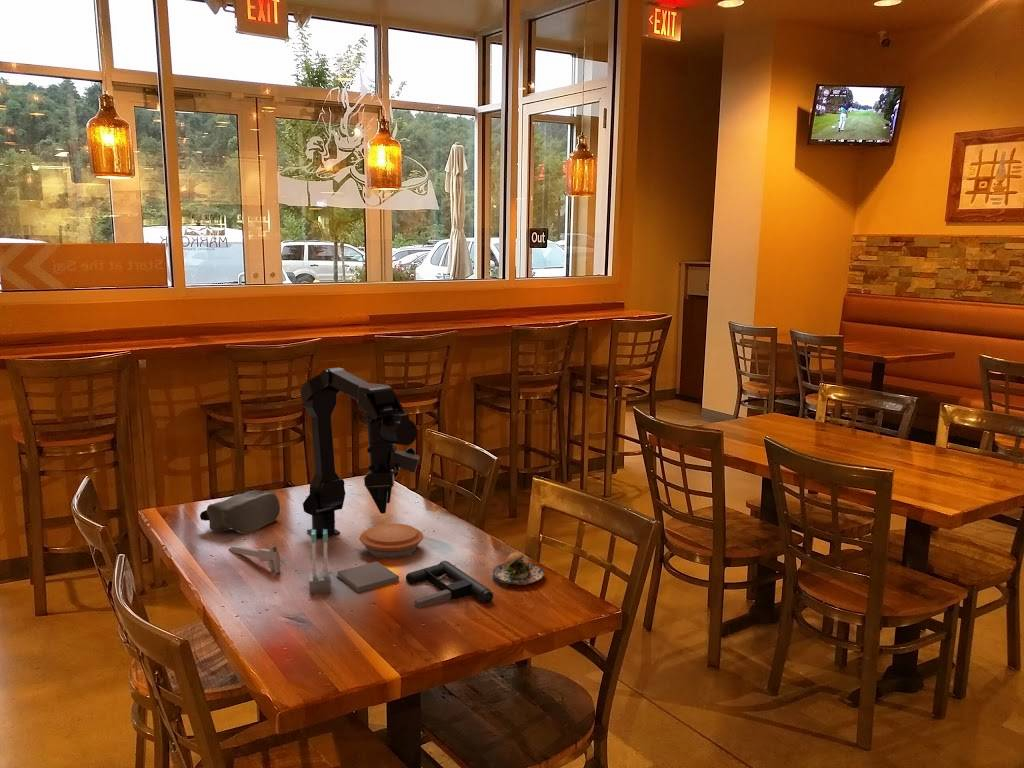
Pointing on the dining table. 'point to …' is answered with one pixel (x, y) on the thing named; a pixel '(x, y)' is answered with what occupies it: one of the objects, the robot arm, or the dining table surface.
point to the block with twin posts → (321, 580)
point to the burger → (516, 571)
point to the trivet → (367, 576)
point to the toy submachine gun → (452, 591)
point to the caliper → (261, 555)
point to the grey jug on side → (243, 512)
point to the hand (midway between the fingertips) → (385, 508)
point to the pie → (391, 540)
